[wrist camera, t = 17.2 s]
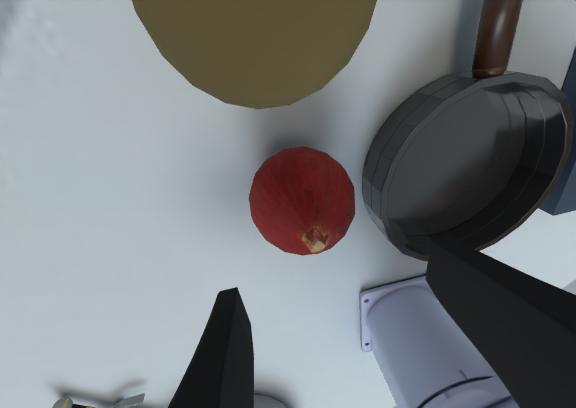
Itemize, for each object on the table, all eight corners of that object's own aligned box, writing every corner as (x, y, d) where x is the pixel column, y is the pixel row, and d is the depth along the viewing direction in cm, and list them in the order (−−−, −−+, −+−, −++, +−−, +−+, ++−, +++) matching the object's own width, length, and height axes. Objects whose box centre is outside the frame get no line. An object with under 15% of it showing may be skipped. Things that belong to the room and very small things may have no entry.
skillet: (503, 219, 24) (535, 239, 21) (363, 252, 23) (379, 278, 20) (554, 52, 17) (610, 52, 15) (359, 92, 16) (382, 99, 14)
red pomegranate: (344, 146, 18) (411, 204, 11) (313, 217, 20) (353, 302, 14) (260, 120, 16) (279, 171, 9) (237, 202, 19) (239, 289, 12)
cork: (326, 12, 14) (508, -66, 5) (258, 108, 16) (290, 191, 6) (227, -98, 12) (185, -770, 2) (159, 30, 13) (-28, -20, 4)
